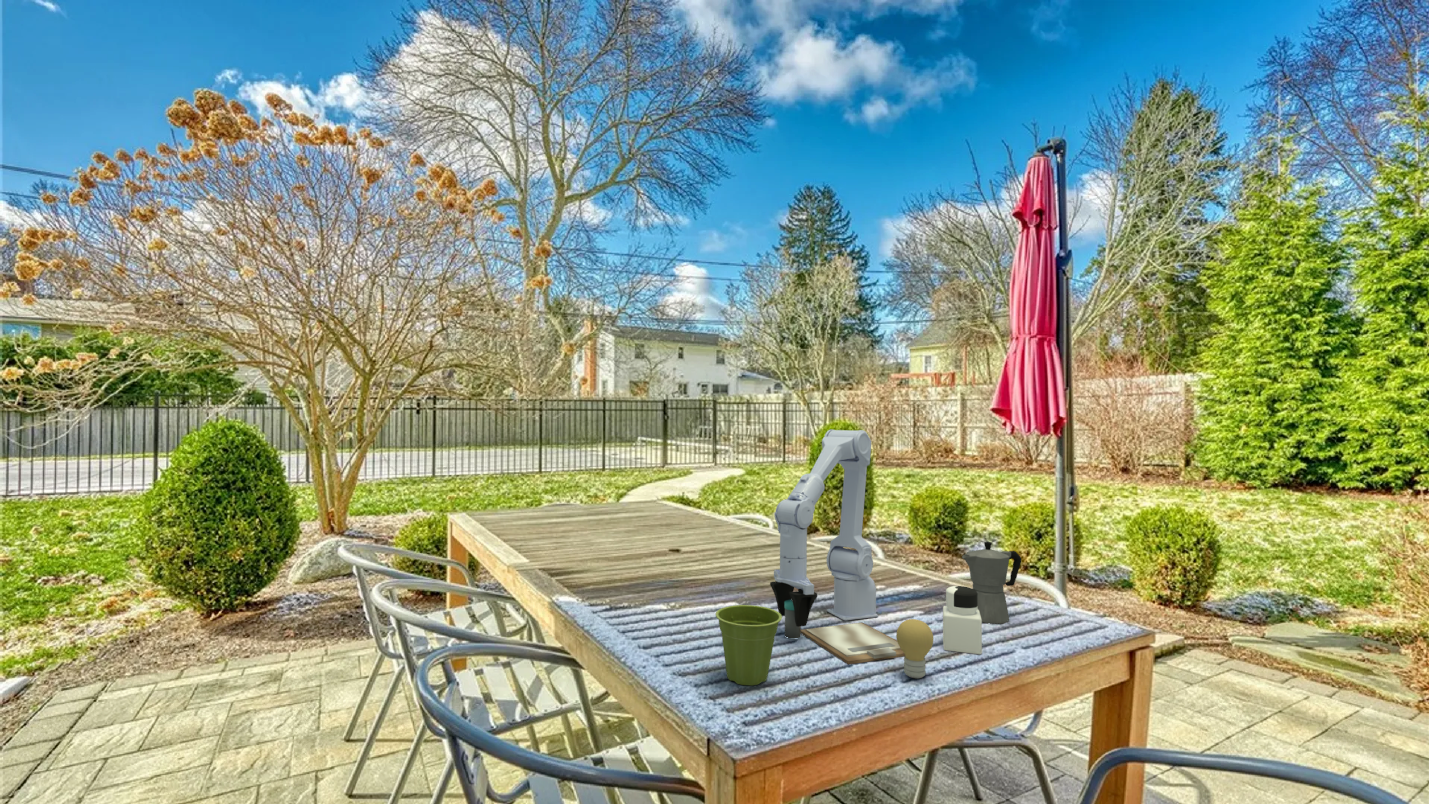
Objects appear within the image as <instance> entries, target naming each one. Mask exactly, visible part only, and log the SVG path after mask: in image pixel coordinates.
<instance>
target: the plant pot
mask: <svg viewBox="0 0 1429 804" xmlns="http://www.w3.org/2000/svg"><path fill="white" fill-rule="evenodd" d="M715 617H716V619H717V620H718V625H719V626H718V627H719V629H720V632H721V639H722V648H723V654H724V655H723V656H724V664H725V670H726V676H727V679H728V680H729V681H731V682H735V683H736V684H737V685H740V686H750V687H751V686H757V685H760V684H761V683H763V682H764V683H765V682H766V681H767V680H768V677H769V671H770V666H771V660H772V654H773V650H774V649H773V648H774V643H775V637H776V634H777V632H778V627H779V624H780V622H781V621H782V620H783V616H782V615H781V614H780V613H779V611H778V610H776V609H772V608H769V607H767V606H761V605H750V604H735V605H729V606H724V607H722V608H720V609H718V610H716V612H715Z"/></svg>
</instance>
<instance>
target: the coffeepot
mask: <svg viewBox="0 0 1429 804" xmlns="http://www.w3.org/2000/svg"><path fill="white" fill-rule="evenodd" d="M983 543H984V549H978V550H977V549H976V550H970V551H967V552H966V553H965V554H963V555H962V556H961V558H962V559H963V560H964V561H965V563H966V565H967V566H968V569H969V575H970V581H971V582H972V587H971V588H972V589H974V590H975V591H976V592H977V593H978V610H979V612H980V616H981V619H982V624H988V623H990V624H989V625H1003V624H1007V623H1009V621H1010V616H1009V609H1008V604H1007V599H1006V593H1005V592H1004V586H1007V587H1012V586H1014V585H1015V583H1016V581H1017V577H1018V574H1019V571H1020V567H1021V564H1022V557H1021V556H1020V555H1019V554H1018V552H1017V551H1015V550H1009V551H1007V550H1004V551H1003V550H1001V551H997V550H993V549H991V548H992V542H991V541H984V542H983ZM1010 560H1013V562H1012V569H1011V572H1010V576H1009V577H1010V580H1009V581H1007V574H1008V570H1009V564H1010V563H1009V562H1010Z"/></svg>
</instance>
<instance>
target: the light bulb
mask: <svg viewBox="0 0 1429 804" xmlns="http://www.w3.org/2000/svg"><path fill="white" fill-rule="evenodd" d="M896 640H897V642H898V644H899V646H900V648H901V650H902V651H903V652H904V654H905V656H903V661H904V662H903V666H904V667H903V673H904V674H905V675H906V676H907V677H909V678H912V679H922V678H923V677H925V676H926V674H927V673H926V672H927V671H926V669H927V668H926V662H927V661H926V659H925V657H926V656H927V655H928V654H929V652H931V650H932V647H933V645H934V634H933V631H932V629H931V628H930V626H929V625H928V624H927V623H926V622H924V621H923V620H920V619H918V618H917V619H916V618H910V619H905V620H904V621H902V622H901V623H900V624H899V625H898V627H897V631H896Z"/></svg>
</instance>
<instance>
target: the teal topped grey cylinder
mask: <svg viewBox="0 0 1429 804" xmlns="http://www.w3.org/2000/svg"><path fill="white" fill-rule="evenodd" d="M784 608H785V616H784V637H785V636H786V637H788V638H787V639H789V638H798V639H800V638H801V636H802V634H801V630H802V626H800V627H798V626H796V623H795V613H794V606H793V602H792V599H791V600H786V601H785V602H784ZM786 637H785V638H786Z"/></svg>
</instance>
